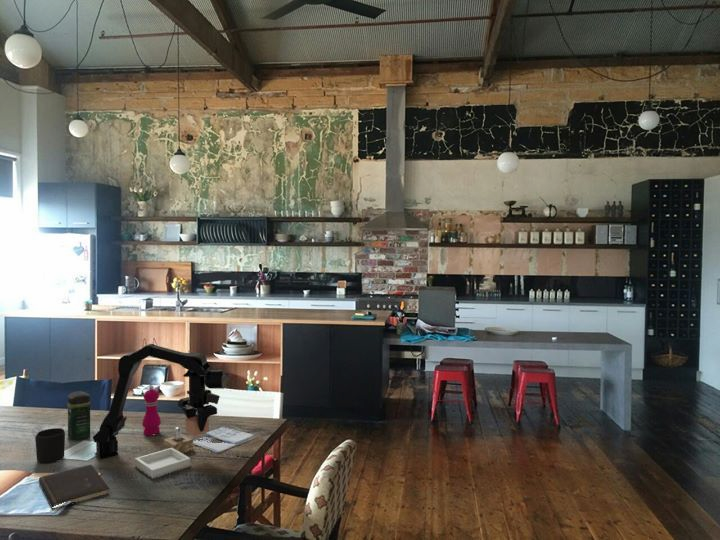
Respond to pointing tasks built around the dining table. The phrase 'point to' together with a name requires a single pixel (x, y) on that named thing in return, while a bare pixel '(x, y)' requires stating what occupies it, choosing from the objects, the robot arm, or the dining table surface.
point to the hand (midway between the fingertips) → (197, 429)
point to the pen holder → (50, 445)
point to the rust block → (195, 426)
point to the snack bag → (223, 439)
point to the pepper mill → (151, 412)
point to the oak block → (179, 443)
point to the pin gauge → (177, 434)
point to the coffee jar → (78, 415)
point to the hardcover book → (73, 485)
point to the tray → (162, 462)
